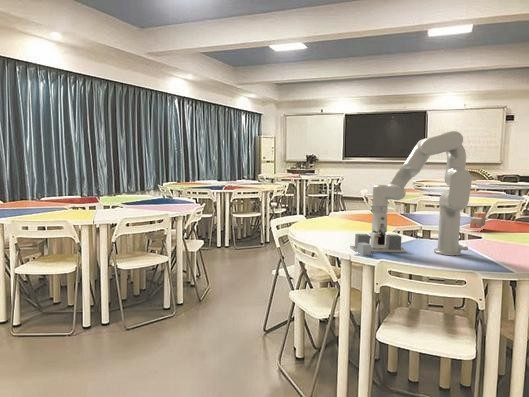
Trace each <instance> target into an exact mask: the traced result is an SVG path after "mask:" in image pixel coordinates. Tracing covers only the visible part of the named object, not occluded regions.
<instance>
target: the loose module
mask: <svg viewBox="0 0 529 397" xmlns="http://www.w3.org/2000/svg"><path fill="white" fill-rule="evenodd" d="M370 234H371V239H370V245H371V247H373V248H385V246H386V235H387V233H385V244H384V245H378V237H379V234H378V233H377V232H372V231H371V232H370ZM380 234H381V233H380Z"/></svg>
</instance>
